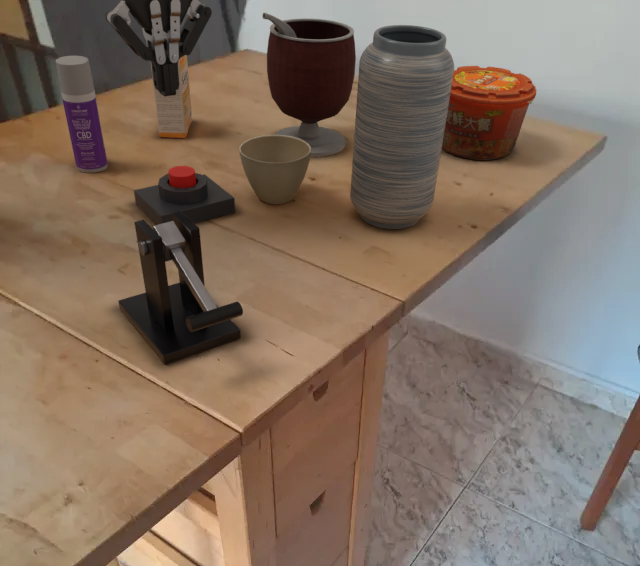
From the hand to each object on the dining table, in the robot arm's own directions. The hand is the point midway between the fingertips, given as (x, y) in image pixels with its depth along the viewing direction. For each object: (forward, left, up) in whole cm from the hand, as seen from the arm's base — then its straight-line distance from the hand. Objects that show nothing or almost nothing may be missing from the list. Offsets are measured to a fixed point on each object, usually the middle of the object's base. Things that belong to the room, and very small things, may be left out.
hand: (167, 94), depth 86 cm
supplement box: (+13, +28, -16) cm, 34 cm away
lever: (-12, -29, -8) cm, 33 cm away
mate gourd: (+29, +12, -15) cm, 35 cm away
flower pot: (+14, -3, -16) cm, 21 cm away
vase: (+25, -16, -15) cm, 33 cm away
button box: (+1, 0, -15) cm, 15 cm away
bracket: (-12, -25, -15) cm, 32 cm away
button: (+1, 0, -12) cm, 12 cm away
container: (-5, +20, -15) cm, 26 cm away
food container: (+54, -3, -15) cm, 56 cm away
